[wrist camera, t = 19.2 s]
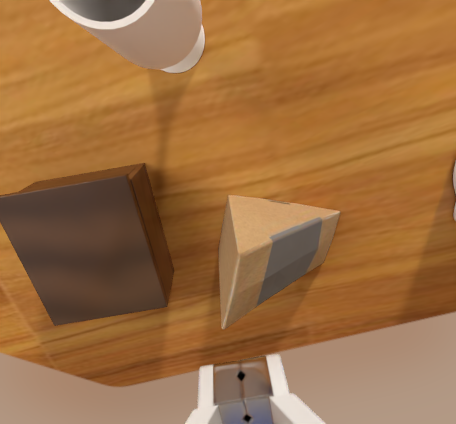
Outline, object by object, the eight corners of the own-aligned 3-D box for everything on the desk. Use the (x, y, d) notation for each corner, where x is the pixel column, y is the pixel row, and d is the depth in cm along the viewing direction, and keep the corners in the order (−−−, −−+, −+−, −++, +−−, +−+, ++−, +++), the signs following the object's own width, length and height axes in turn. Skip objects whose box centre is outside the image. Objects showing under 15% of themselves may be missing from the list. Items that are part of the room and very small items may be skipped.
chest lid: (-7, 196, 31) (-12, 199, 30) (127, 172, 31) (125, 175, 30) (57, 321, 38) (54, 326, 37) (168, 302, 37) (167, 307, 37)
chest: (34, 182, 38) (-1, 202, 32) (144, 162, 38) (131, 179, 31) (79, 286, 44) (57, 320, 38) (174, 270, 44) (168, 302, 37)
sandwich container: (323, 265, 45) (374, 347, 31) (217, 251, 43) (221, 332, 29) (342, 210, 41) (407, 274, 28) (228, 193, 40) (237, 253, 26)
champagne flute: (208, 69, 34) (206, 49, 12) (147, 76, 34) (31, 69, 12) (200, -4, 31) (177, -202, 9) (134, 4, 31) (-48, -178, 9)
